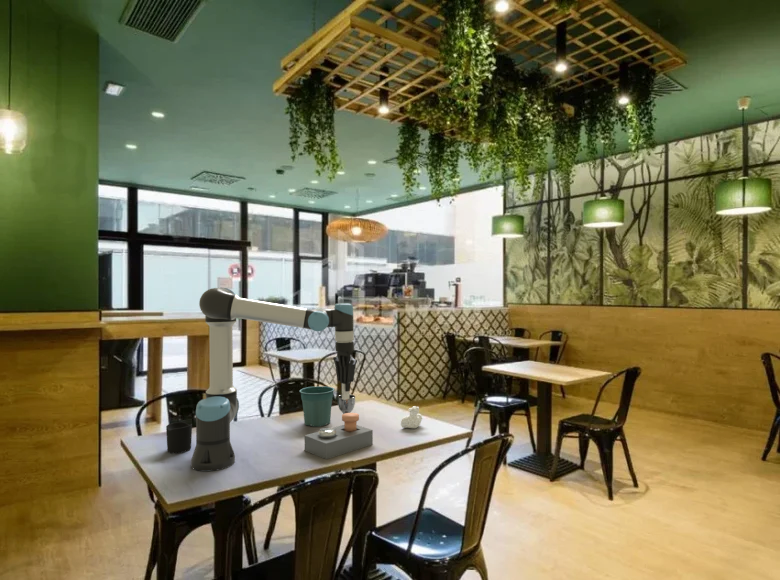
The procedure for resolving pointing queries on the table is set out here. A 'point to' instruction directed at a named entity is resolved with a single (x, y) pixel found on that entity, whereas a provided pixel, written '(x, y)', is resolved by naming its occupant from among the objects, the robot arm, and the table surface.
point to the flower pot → (317, 405)
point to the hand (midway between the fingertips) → (345, 398)
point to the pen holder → (179, 437)
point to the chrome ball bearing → (327, 433)
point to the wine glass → (346, 404)
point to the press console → (338, 442)
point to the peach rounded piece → (350, 421)
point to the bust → (412, 418)
